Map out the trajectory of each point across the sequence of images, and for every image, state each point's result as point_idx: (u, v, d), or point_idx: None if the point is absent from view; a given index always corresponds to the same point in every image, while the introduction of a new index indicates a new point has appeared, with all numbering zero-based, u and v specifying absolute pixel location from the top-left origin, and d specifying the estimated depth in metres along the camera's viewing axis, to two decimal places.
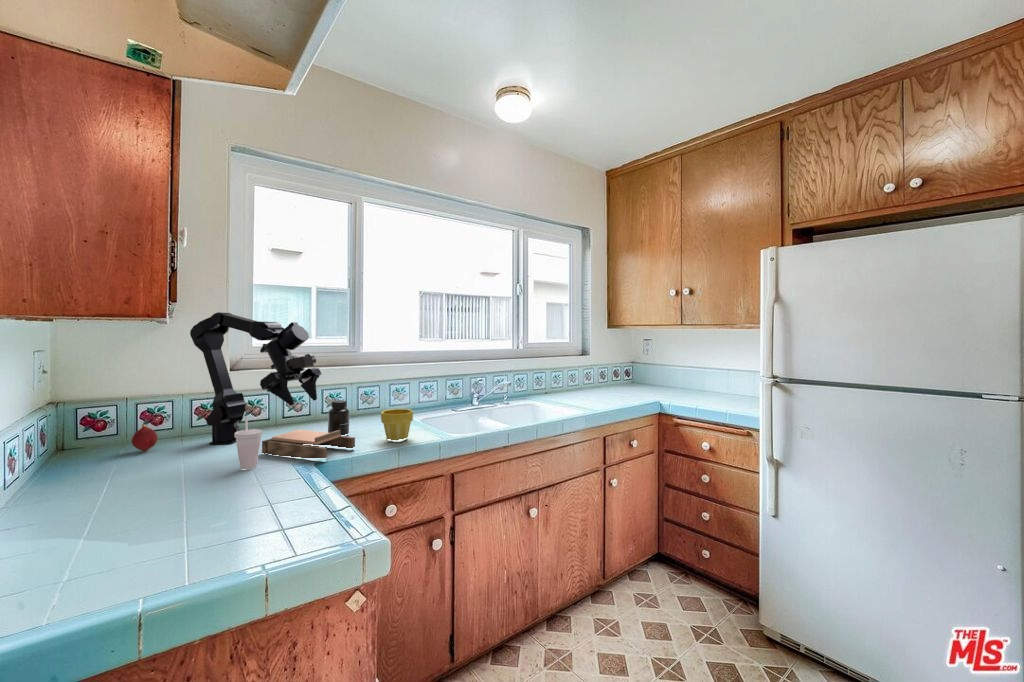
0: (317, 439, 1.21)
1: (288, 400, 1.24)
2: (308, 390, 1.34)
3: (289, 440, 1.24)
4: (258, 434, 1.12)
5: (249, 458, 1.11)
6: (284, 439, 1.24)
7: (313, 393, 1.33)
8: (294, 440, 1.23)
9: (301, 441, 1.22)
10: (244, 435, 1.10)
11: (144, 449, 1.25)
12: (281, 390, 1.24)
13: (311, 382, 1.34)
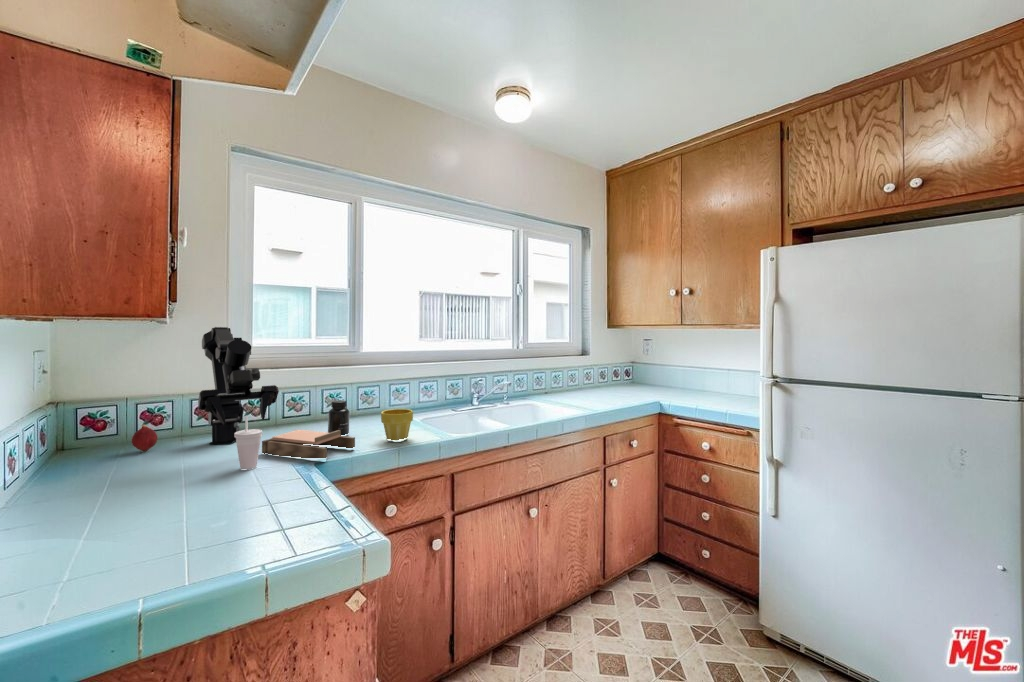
0: (317, 439, 1.21)
1: (220, 419, 1.14)
2: (261, 409, 1.22)
3: (289, 440, 1.24)
4: (258, 434, 1.12)
5: (249, 458, 1.11)
6: (284, 439, 1.24)
7: (262, 412, 1.20)
8: (294, 440, 1.23)
9: (301, 441, 1.22)
10: (244, 435, 1.10)
11: (144, 449, 1.25)
12: None
13: (262, 400, 1.22)
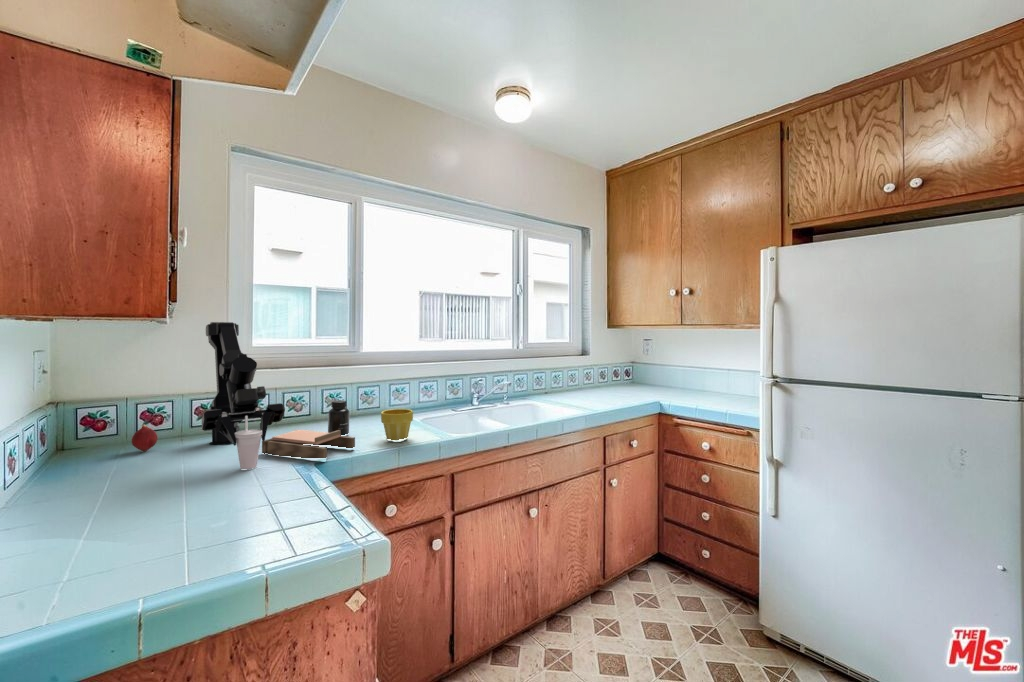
0: (317, 439, 1.21)
1: (231, 439, 1.10)
2: None
3: (289, 440, 1.24)
4: (258, 434, 1.12)
5: (249, 458, 1.11)
6: (284, 439, 1.24)
7: (262, 432, 1.15)
8: (294, 440, 1.23)
9: (301, 441, 1.22)
10: (244, 435, 1.10)
11: (144, 449, 1.25)
12: (227, 429, 1.11)
13: (262, 420, 1.16)
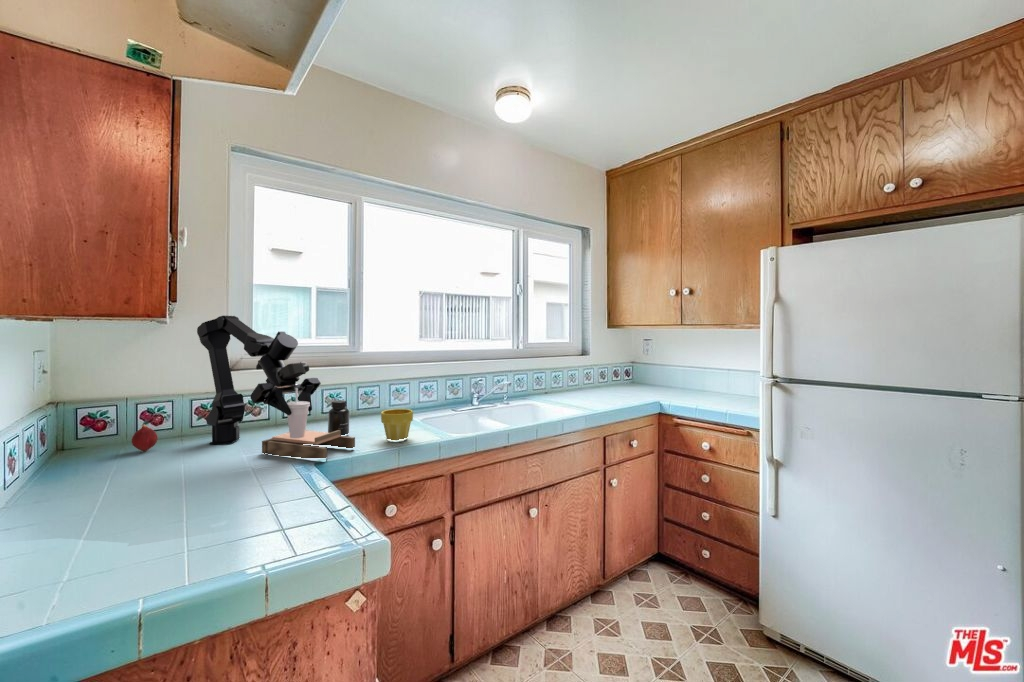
0: (317, 439, 1.21)
1: (285, 410, 1.18)
2: None
3: (289, 440, 1.24)
4: (309, 404, 1.22)
5: (301, 426, 1.20)
6: (284, 439, 1.24)
7: None
8: (294, 440, 1.23)
9: (301, 441, 1.22)
10: (299, 405, 1.19)
11: (144, 449, 1.25)
12: (277, 401, 1.19)
13: (305, 392, 1.25)
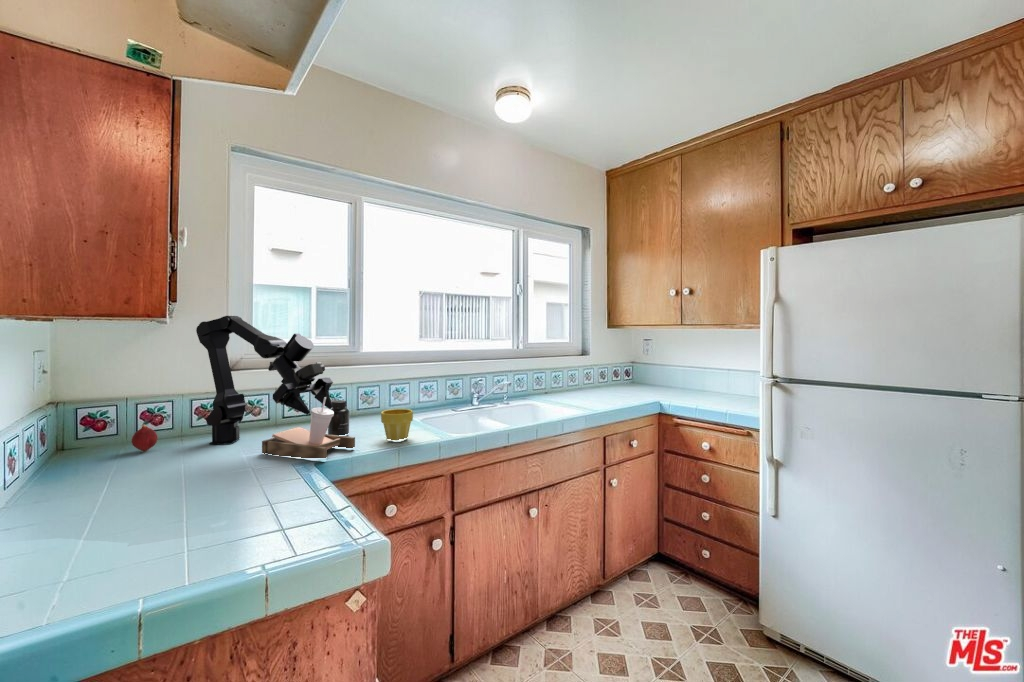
0: None
1: (303, 409, 1.22)
2: (323, 400, 1.32)
3: (289, 442, 1.24)
4: (333, 414, 1.27)
5: (323, 434, 1.26)
6: (284, 439, 1.24)
7: (328, 401, 1.31)
8: None
9: None
10: (326, 415, 1.24)
11: (144, 449, 1.25)
12: (295, 401, 1.22)
13: (324, 391, 1.32)
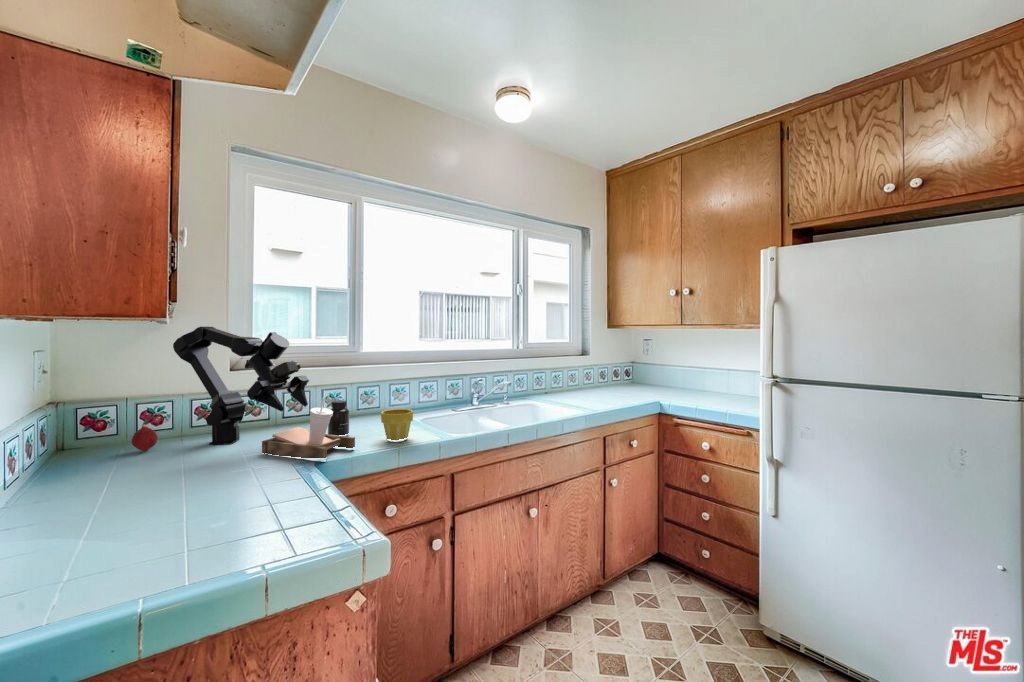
0: None
1: (277, 406, 1.25)
2: (298, 397, 1.35)
3: (289, 442, 1.24)
4: (332, 414, 1.27)
5: (322, 434, 1.26)
6: (284, 439, 1.24)
7: (303, 399, 1.34)
8: None
9: None
10: (325, 415, 1.24)
11: (144, 449, 1.25)
12: (269, 398, 1.25)
13: (300, 388, 1.35)
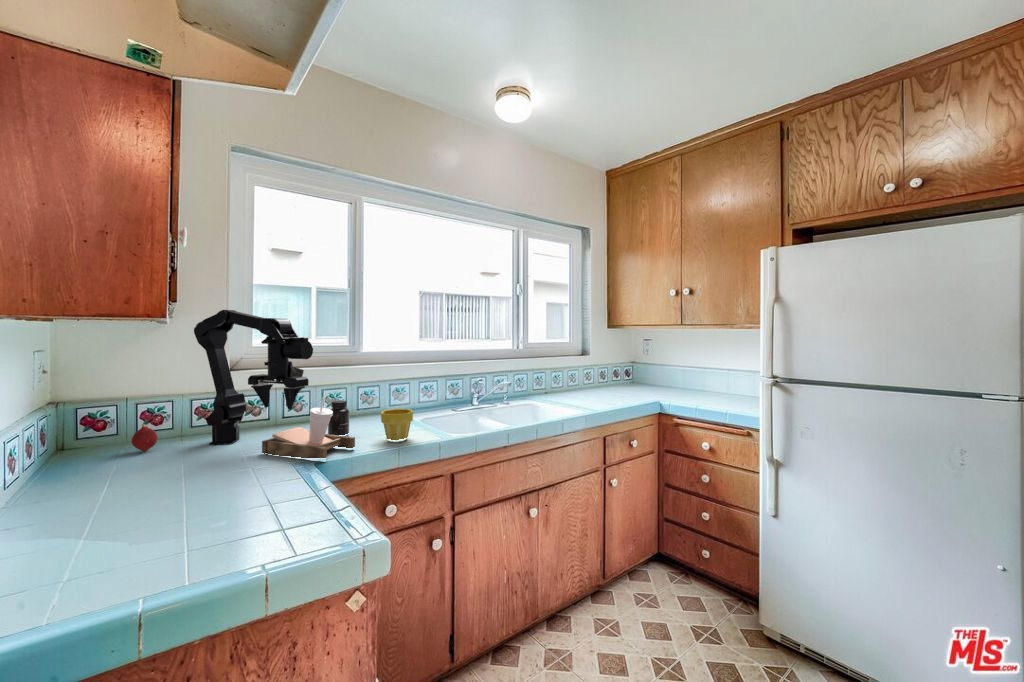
0: None
1: (291, 404, 1.32)
2: (263, 395, 1.34)
3: (289, 442, 1.24)
4: (332, 413, 1.27)
5: (322, 434, 1.26)
6: (284, 439, 1.24)
7: (268, 400, 1.35)
8: None
9: None
10: (325, 415, 1.24)
11: (144, 449, 1.25)
12: (292, 393, 1.31)
13: (269, 389, 1.36)
